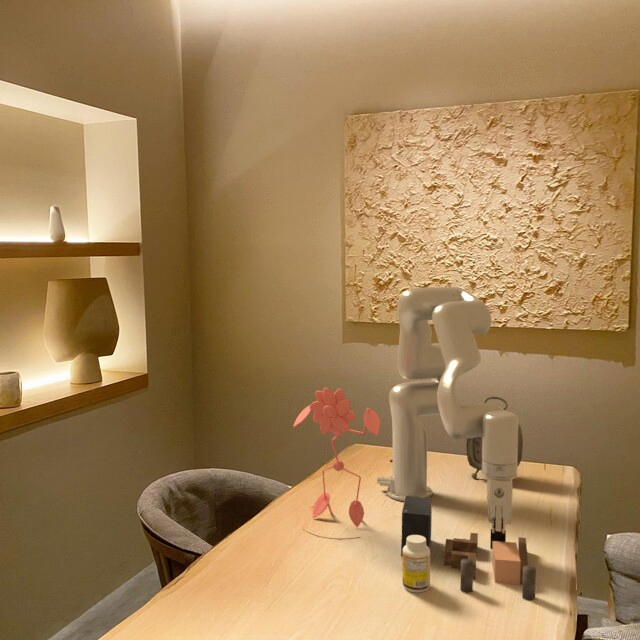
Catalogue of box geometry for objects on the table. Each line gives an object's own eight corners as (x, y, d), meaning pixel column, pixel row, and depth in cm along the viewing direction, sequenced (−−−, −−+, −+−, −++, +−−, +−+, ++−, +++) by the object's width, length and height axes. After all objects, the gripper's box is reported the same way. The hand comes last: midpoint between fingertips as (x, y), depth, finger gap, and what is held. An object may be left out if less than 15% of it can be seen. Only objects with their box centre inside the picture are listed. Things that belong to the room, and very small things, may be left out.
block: (494, 582, 141) (495, 559, 141) (492, 562, 150) (492, 540, 150) (520, 584, 140) (520, 561, 140) (515, 564, 149) (516, 542, 149)
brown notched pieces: (439, 589, 138) (439, 561, 138) (447, 543, 160) (447, 518, 159) (535, 601, 134) (536, 571, 133) (530, 552, 155) (531, 526, 154)
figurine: (306, 504, 184) (303, 377, 180) (392, 526, 170) (391, 388, 166) (271, 525, 172) (267, 389, 167) (361, 550, 157) (359, 401, 153)
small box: (430, 559, 152) (430, 514, 151) (400, 557, 153) (400, 512, 152) (432, 539, 162) (432, 497, 161) (404, 537, 163) (404, 495, 162)
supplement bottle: (411, 577, 144) (412, 530, 143) (435, 585, 140) (435, 537, 139) (397, 587, 139) (397, 539, 138) (420, 596, 136) (420, 547, 135)
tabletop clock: (465, 479, 204) (467, 396, 201) (477, 470, 211) (478, 391, 208) (513, 488, 195) (515, 402, 193) (524, 479, 203) (526, 396, 200)
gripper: (518, 480, 142) (516, 565, 144) (516, 458, 156) (514, 536, 158) (480, 477, 143) (479, 561, 145) (482, 456, 158) (481, 533, 160)
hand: (497, 548), depth 152 cm, fingers closed
